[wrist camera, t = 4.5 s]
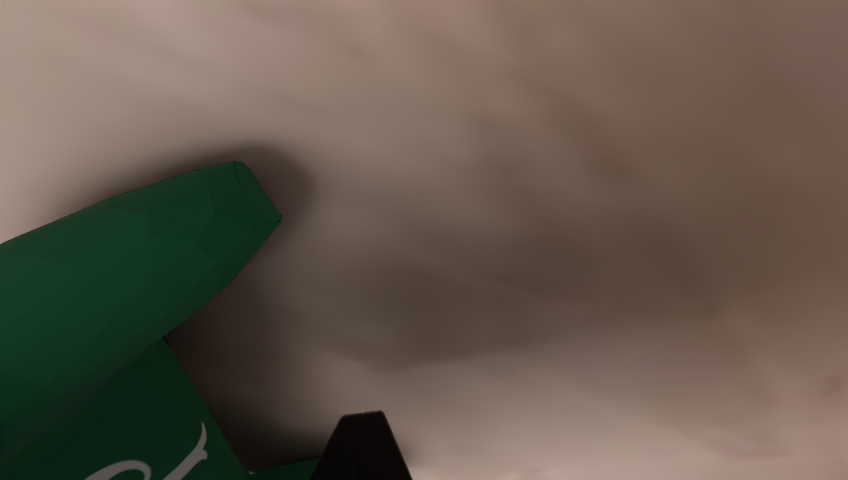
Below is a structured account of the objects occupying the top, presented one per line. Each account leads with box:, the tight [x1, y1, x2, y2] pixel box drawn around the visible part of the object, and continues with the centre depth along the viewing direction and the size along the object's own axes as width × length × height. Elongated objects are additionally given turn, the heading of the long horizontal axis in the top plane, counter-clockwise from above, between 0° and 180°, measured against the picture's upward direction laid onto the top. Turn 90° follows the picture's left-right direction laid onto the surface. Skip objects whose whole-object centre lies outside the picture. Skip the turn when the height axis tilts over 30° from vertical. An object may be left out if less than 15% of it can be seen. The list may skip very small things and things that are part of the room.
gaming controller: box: [0, 162, 319, 480], centre depth 9 cm, size 9×4×6 cm
